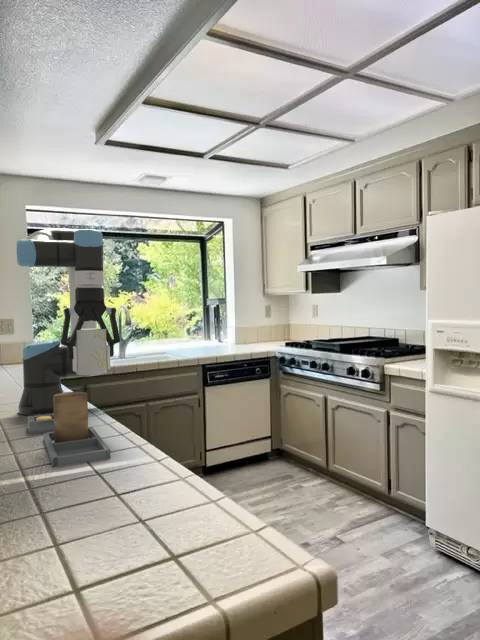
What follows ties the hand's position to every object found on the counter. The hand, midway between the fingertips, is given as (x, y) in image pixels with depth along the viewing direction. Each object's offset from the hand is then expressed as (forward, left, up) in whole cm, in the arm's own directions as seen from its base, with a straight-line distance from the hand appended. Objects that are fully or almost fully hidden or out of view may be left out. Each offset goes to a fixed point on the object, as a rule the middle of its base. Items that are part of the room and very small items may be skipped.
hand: (91, 369), depth 131 cm
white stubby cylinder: (0, 0, -1) cm, 1 cm away
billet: (+11, -7, -16) cm, 21 cm away
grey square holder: (-7, -12, -17) cm, 22 cm away
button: (-7, -12, -16) cm, 21 cm away
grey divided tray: (+16, -7, -17) cm, 25 cm away
